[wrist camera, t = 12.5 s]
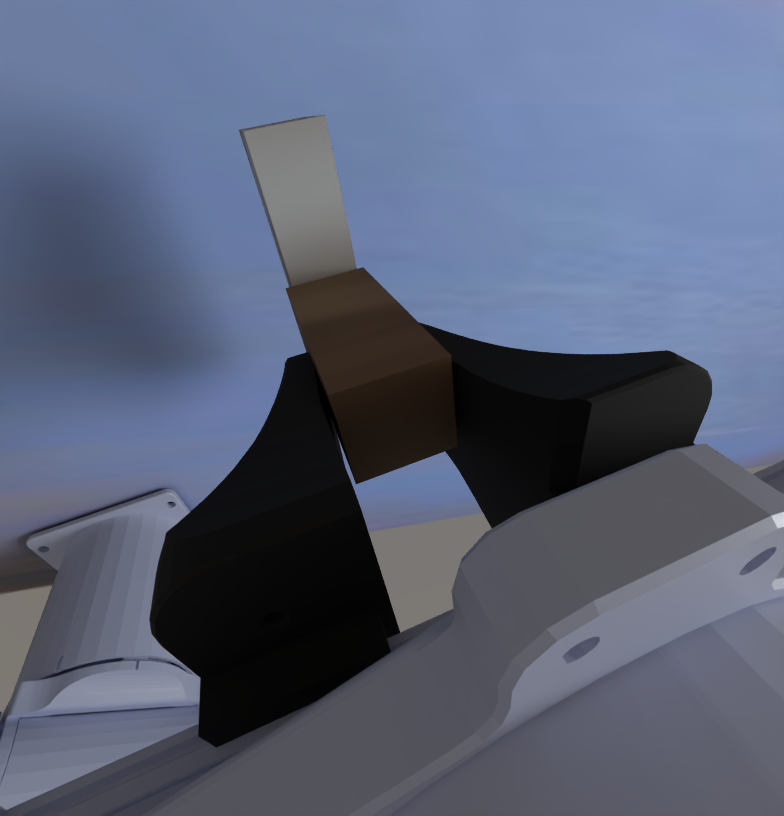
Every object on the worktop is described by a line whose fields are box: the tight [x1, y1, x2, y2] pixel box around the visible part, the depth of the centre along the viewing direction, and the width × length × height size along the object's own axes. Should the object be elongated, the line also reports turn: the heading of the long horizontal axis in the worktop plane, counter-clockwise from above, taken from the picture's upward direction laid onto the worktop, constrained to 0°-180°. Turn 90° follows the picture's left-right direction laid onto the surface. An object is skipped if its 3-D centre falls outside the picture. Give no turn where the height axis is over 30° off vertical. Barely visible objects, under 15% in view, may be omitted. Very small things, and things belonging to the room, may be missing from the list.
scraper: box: [239, 115, 457, 484], centre depth 11 cm, size 10×2×9 cm, turn 10°
